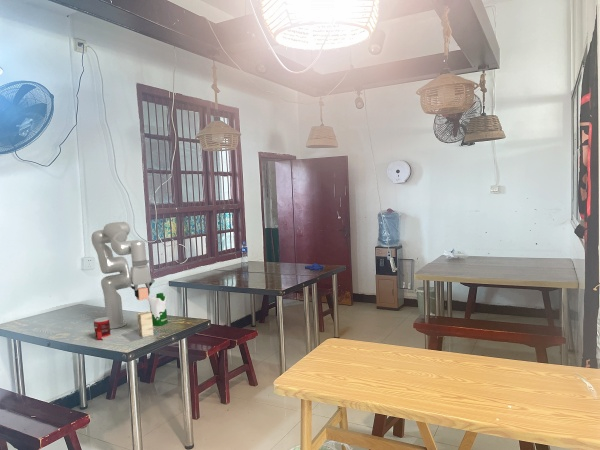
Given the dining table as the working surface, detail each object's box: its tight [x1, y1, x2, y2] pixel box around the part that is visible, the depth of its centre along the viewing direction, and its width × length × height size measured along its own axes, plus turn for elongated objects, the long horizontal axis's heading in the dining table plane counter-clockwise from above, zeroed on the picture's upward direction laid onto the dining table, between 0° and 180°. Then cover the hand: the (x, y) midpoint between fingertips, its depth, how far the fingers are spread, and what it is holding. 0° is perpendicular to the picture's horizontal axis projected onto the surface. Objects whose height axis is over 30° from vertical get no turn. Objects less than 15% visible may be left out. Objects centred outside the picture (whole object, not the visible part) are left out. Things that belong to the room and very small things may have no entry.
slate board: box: [121, 329, 161, 343], centre depth 242 cm, size 18×16×2 cm
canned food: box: [93, 316, 111, 341], centre depth 245 cm, size 8×8×11 cm
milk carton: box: [147, 292, 169, 327], centre depth 260 cm, size 9×9×20 cm
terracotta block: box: [136, 286, 150, 301], centre depth 239 cm, size 5×5×6 cm
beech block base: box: [137, 324, 154, 337], centre depth 241 cm, size 6×6×6 cm
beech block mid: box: [136, 311, 153, 326], centre depth 240 cm, size 6×6×6 cm
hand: (142, 295), depth 239 cm, fingers closed on terracotta block, 5 cm apart
